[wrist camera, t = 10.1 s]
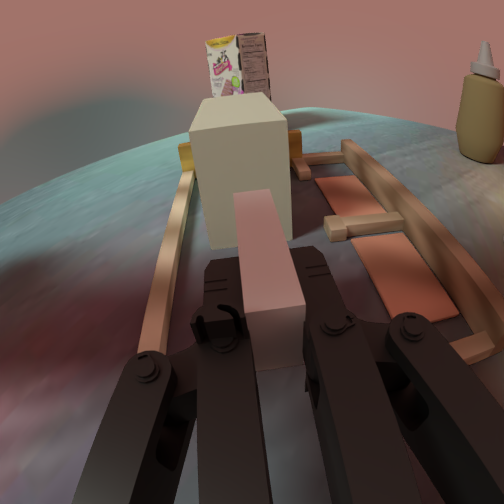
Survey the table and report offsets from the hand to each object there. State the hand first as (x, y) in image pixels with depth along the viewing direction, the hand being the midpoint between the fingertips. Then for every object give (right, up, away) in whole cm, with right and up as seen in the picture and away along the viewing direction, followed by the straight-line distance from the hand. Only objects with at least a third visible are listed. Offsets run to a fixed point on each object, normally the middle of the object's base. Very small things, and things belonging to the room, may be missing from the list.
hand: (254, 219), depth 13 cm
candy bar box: (-1, +18, +36) cm, 40 cm away
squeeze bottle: (+33, +13, +23) cm, 42 cm away
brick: (-1, +3, +15) cm, 16 cm away
